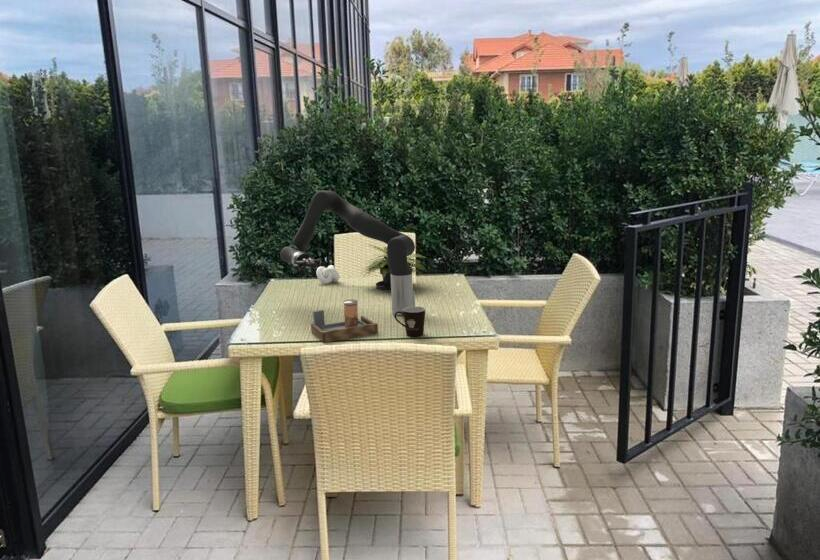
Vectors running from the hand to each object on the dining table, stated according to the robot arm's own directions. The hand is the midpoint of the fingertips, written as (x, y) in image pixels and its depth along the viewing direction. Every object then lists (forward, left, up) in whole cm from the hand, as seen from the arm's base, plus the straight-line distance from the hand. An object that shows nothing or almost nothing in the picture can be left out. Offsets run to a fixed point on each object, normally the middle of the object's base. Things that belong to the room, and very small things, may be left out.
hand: (314, 265), depth 263 cm
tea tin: (-6, +24, -22) cm, 33 cm away
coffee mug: (-25, +40, -23) cm, 52 cm away
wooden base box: (-3, +25, -23) cm, 34 cm away
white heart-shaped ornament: (-28, -69, -23) cm, 78 cm away
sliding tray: (-3, +23, -23) cm, 32 cm away
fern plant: (-53, -38, -23) cm, 69 cm away
